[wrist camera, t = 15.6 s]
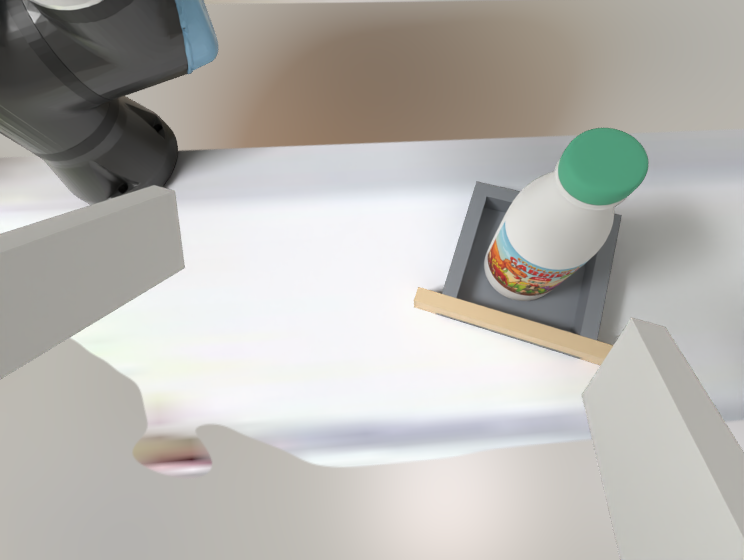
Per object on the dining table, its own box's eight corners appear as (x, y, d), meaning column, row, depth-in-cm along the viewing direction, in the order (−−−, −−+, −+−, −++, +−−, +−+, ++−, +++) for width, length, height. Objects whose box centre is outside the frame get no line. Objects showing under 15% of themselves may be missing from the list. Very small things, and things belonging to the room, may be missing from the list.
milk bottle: (477, 239, 42) (526, 113, 23) (548, 231, 42) (658, 94, 23) (489, 306, 40) (554, 226, 21) (564, 298, 39) (702, 209, 20)
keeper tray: (414, 307, 42) (414, 299, 39) (451, 191, 45) (454, 176, 42) (605, 366, 38) (622, 364, 35) (630, 234, 41) (647, 221, 38)
